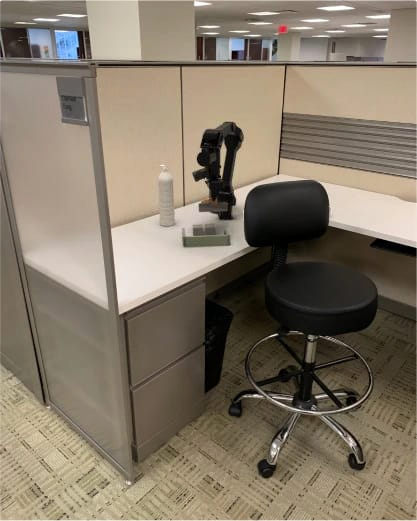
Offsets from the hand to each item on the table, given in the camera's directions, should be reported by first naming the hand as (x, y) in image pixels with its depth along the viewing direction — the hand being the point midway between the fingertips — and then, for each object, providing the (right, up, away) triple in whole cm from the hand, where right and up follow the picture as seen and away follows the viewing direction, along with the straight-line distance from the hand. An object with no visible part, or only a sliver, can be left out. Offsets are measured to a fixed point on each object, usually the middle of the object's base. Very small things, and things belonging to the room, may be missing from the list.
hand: (213, 199), depth 171 cm
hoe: (0, -4, +2) cm, 5 cm away
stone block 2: (-1, -15, -1) cm, 15 cm away
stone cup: (+3, 0, +30) cm, 30 cm away
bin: (-3, -17, -8) cm, 19 cm away
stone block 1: (-6, -15, -2) cm, 16 cm away
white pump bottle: (-20, -9, +12) cm, 25 cm away
